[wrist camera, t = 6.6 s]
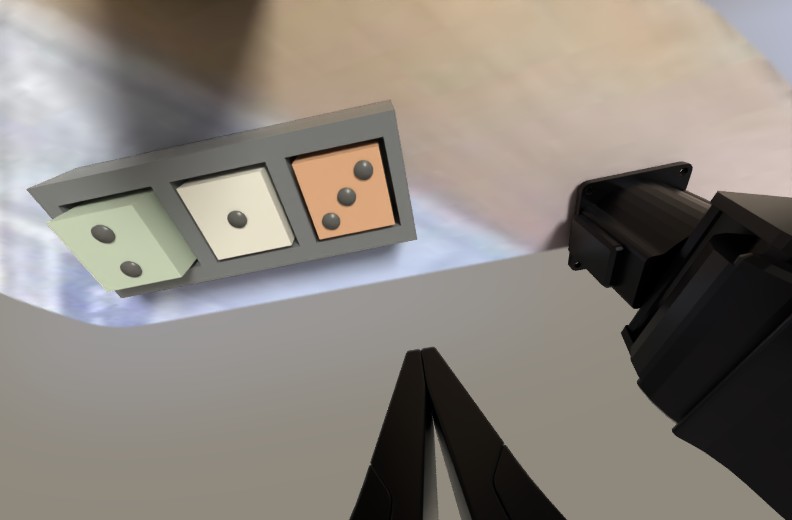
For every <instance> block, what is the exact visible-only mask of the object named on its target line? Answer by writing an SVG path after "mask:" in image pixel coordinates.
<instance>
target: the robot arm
mask: <svg viewBox="0 0 792 520" xmlns="http://www.w3.org/2000/svg"><path fill="white" fill-rule="evenodd" d="M692 168H693V167H692V165H691V164H689V163H686V162H676V163H672V164H667V165H662V166H657V167H652V168H647V169H642V170H637V171H632V172H627V173H622V174H617V175H612V176H607V177H602V178H597V179H592V180H587V181H585V182H583V183H582V184H581V185H580V186H579V188H578V194H577V201H576V208H575V216H574V217H573V219H572V225H571V233H570V240H569V248H568V250H569V252H570V253H569V260H568V265H569V266H570V267H571V269H572V270H575V271H576V270H583V269H587V270H588V271H589V272H590V273H591V274H592V275H593V276H594V277H595V278H596V279H597V280H598V281H599V283H600V284H601V285H603V286H604V287H606V288H609V287H612V288H613V289H614V290H615V291H616V292H617V293H618V294H619V295H620V296H621V297H622V298H623V299H624V300H625V301H626V302H627V303H628V304H629V305H630V306H631V307H632V308H634V309H638V308H640V309H639V311H638V312H637V313H636V315H635V316H634V318H633V319H632V321H631V322H630V324H629V325H626V326H625V327H624V329H623V331H622V332H621V334H622V337H623V339H624V341H625V344H626V346H627V348H628V351H629V353H630V356H631V362H632V364H633V366H634V368H635V370H636V372H637V374H638V376H639V379H638V380H637V384H638V386H639V388H640V389H641V390H642V392H643V393H644V394H645V395H646V396H647V397H648V399H649V400H650V401H651V402H652V403H653V404H654V405H655V406H656V407H657V408H658V409H659V410H661V411H662V412H663V413H664V414H665V415H666V416H667V417H668V418H670V419H671V420H672V421H674V422H675V423H676V425H675V426H674V427H673V428H672V432H673V433H674V434H675V435H676V436H677V437H679V438H681V439H682V440H684V441H686V442H688V443H690V444H692V445H693V446H695V447H697V448H699V449H700V450H702V451H704V452H706V453H707V454H708V455H709V456H711V457H712V458H714V459H715V460H716V461H718V462H719V463H721V464H722V465H724V466H725V467H726V468H728V469H729V470H730V471H731V472H733V473H734V474H735V475H736V476H737V477H738V478H740V479H741V480H742V481H743V482H744V483H746V484H747V485H748V486H749V487H750V488H751V489H752V490H753V491H754V492H755V493H757V494H758V495H759V496H760V497H761V498H762V499H763V500H764V501H765V502H766V503H767V504H768V505H770V506H771V507H772V508H773V509H774V510H775V511H776V512H777V513H778V514H779V515H781V516H782V517H783V518H784V519H785V520H792V198H789V197H778V196H768V195H757V194H746V193H735V192H725V191H717V193H716V194H715V196H714V197H713V199H712V200H711V202H710V201H708V200H706V199H704V198H702V197H700V196H697V195H695V194H693V193H691V192H689V191H686V188H687V185H688V182H689V179H690V176H691V173H692ZM681 170H682V171H681ZM680 171H681V172H680ZM679 172H680V173H679ZM589 187H591V188H590V190H589V191H587V192H586V189H587V188H589ZM577 262H578V263H577ZM576 263H577V264H576ZM432 416H433V417H432ZM433 421H434V425H435V429H436V433H437V437H438V440H439V443H440V447H441V450H442V453H443V457H444V461H445V464H446V467H447V471H448V474H449V478H450V482H451V485H452V488H453V492H454V495H455V499H456V502H457V506H458V509H459V513H460V516H461V519H462V520H566V518H565V517H564V516H563V515H562V514H561V513H560V512H559V511H558V509H557V508H556V507H555V506H554V505H553V504H552V503H551V502H550V501H549V499H548V498H547V497H546V496H545V495H544V493H543V492H542V491H541V490H540V489H539V487H538V486H537V485H536V484H535V483H534V482H533V480H532V479H531V478H530V477H529V475H528V474H527V473H526V471H525V470H524V469H523V468H522V466H521V465H520V464H519V463H518V461H517V460H516V458H515V457H514V456H513V454H512V453H511V451H510V450H509V449H508V447H507V446H506V445H504V442H503V441H502V439H501V438H500V437H499V435H498V434H497V432H496V431H495V430H494V428H493V427H492V425H491V424H490V423H489V421H488V420H487V419H486V417H485V416H484V414H483V413H482V412H481V410H480V409H479V407H478V406H477V405H476V403H475V402H474V400H473V399H472V398H471V397H470V395H469V394H468V392H467V391H466V389H465V388H464V387H463V385H462V384H461V383H460V381H459V380H458V378H457V377H456V376H455V374H454V373H453V372H452V370H451V369H450V367H449V366H448V365H447V363H446V362H445V360H444V359H443V357H442V356H441V355H440V353H439V352H438V351H437V349H436V348H435V347H429V348H423V349H422V350H419V349H416V350H410V351H407V353H406V356H405V359H404V361H403V364H402V368H401V370H400V374H399V377H398V380H397V383H396V386H395V389H394V392H393V395H392V398H391V401H390V404H389V407H388V410H387V413H386V416H385V419H384V423H383V425H382V428H381V432H380V435H379V438H378V441H377V444H376V447H375V450H374V453H373V456H372V459H371V465H370V466H369V468H368V471H367V474H366V477H365V480H364V483H363V486H362V488H361V491H360V494H359V497H358V499H357V502H356V505H355V507H354V510H353V512H352V514H351V517H350V519H349V520H438V500H437V481H436V460H435V441H434V425H433Z"/></svg>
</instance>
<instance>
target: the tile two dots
mask: <svg viewBox="0 0 792 520" xmlns="http://www.w3.org/2000/svg"><path fill="white" fill-rule="evenodd" d="M46 224H47V225H48V226H49V227H50V228H51V230H52V231H53V232H54V233H55V234H56V235H57V236H58V237H59V239H60V240H61V241H62V242H63V243H64V244H65V245H66V246H67V248H68V249H69V250H70V251H71V252H72V253H73V254H74V255H75V257H76V258H77V259H78V260H79V261H80V262H81V263H82V264H83V266H84V267H85V268H86V269H87V270H88V271H89V272H90V273H91V275H92V276H93V277H94V278H95V279H96V280H97V281H98V282H99V284H100V285H101V286H102V287H103V288H104V289H105V290H106V291H107V292H110V291H115V290H120V289H125V288H130V287H135V286H140V285H145V284H150V283H155V282H160V281H165V280H170V279H175V278H180V277H182V276H183V275H184V274H185V273H186V271H187V270H188V269H189V268H190V266H191V265H192V264H193V263H194V261H195V260H196V259H197V258H196V256H195V255H194V253H193V252H192V250H191V248H190V247H189V245H188V244H187V242H186V241H185V239H184V237H183V236H182V234H181V233H180V231H179V230H178V228H177V227H176V225H175V223H174V222H173V220H172V219H171V217H170V216H169V214H168V213H167V211H166V209H165V208H164V206H163V205H162V203H161V202H160V200H159V198H158V197H157V195H156V194H155V192H154V191H153V189H152V188H151V187H147V188H143V189H138V190H133V191H129V192H124V193H119V194H115V195H110V196H105V197H101V198H96V199H91V200H87V201H85V202H83V203H81V204H79V205H77V206H76V207H74V208H72V209H70V210H68V211H67V212H65V213H63V214H61V215H59V216H58V217H56V218H54V219H52V220H50V221H49V222H47V223H46Z"/></svg>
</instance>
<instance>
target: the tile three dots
mask: <svg viewBox="0 0 792 520" xmlns="http://www.w3.org/2000/svg"><path fill="white" fill-rule="evenodd" d="M292 166H293V169H294V171H295V174H296V177H297V180H298V182H299V185H300V188H301V190H302V193H303V196H304V198H305V201H306V204H307V207H308V209H309V212H310V215H311V217H312V220H313V223H314V226H315V228H316V231H317V234H318V236H319V239H325V238H329V237H334V236H339V235H344V234H349V233H354V232H359V231H364V230H369V229H374V228H379V227H384V226H389V225H394V224H395V221H394V215H393V208H392V202H391V197H390V193H389V188H388V183H387V178H386V174H385V169H384V164H383V159H382V155H381V150H380V145H379V140H378V138H375V139H370V140H365V141H361V142H356V143H351V144H346V145H342V146H337V147H332V148H328V149H323V150H318V151H314V152H309V153H304V154H300V155H298V156H297V157H296V159H295V161H294V162H293V164H292Z"/></svg>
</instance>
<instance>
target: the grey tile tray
mask: <svg viewBox="0 0 792 520" xmlns="http://www.w3.org/2000/svg"><path fill="white" fill-rule="evenodd" d="M375 138H378V140H379V145H380V150H381V155H382V159H383V164H384V169H385V174H386V178H387V183H388V188H389V193H390V197H391V202H392V208H393V215H394V221H395V224H394V225H389V226H384V227H379V228H374V229H369V230H364V231H359V232H354V233H349V234H344V235H339V236H334V237H329V238H325V239H319V236H318V234H317V231H316V228H315V226H314V223H313V220H312V217H311V215H310V212H309V209H308V207H307V204H306V201H305V198H304V196H303V193H302V190H301V188H300V185H299V182H298V180H297V177H296V174H295V171H294V169H293V166H292V164H293V162H294V161H295V159H296V157H297V156H298V155H300V154H304V153H309V152H314V151H318V150H323V149H328V148H332V147H337V146H342V145H346V144H351V143H356V142H361V141H365V140H370V139H375ZM262 162H265V163H266V165H267V167H268V170H269V172H270V175H271V177H272V179H273V182H274V184H275V187H276V189H277V192H278V194H279V196H280V199H281V201H282V204H283V206H284V208H285V211H286V213H287V216H288V218H289V220H290V223H291V225H292V228H293V230H294V233H295V238H294V241H293V243H292V245H290V246H285V247H280V248H275V249H270V250H265V251H260V252H255V253H250V254H245V255H240V256H235V257H230V258H225V259H220V260H218V258H217V257H216V255H215V253H214V252H213V250H212V248H211V247H210V245H209V243H208V242H207V240H206V238H205V237H204V235H203V233H202V231H201V230H200V228H199V226H198V225H197V223H196V221H195V220H194V218H193V216H192V215H191V213H190V211H189V210H188V208H187V206H186V205H185V203H184V201H183V200H182V198H181V196H180V195H179V193H178V191H177V190H176V189H177V188H178V187H180V186H181V185H182V184H184V183H185V182H186V181H188V180H189V179H190V178H192V177H196V176H201V175H206V174H210V173H215V172H220V171H225V170H229V169H234V168H239V167H243V166H248V165H253V164H257V163H262ZM147 187H151V188H152V189H153V191H154V192H155V194H156V195H157V197H158V198H159V200H160V202H161V203H162V205H163V206H164V208H165V209H166V211H167V213H168V214H169V216H170V217H171V219H172V220H173V222H174V223H175V225H176V227H177V228H178V230H179V231H180V233H181V234H182V236H183V237H184V239H185V241H186V242H187V244H188V245H189V247H190V248H191V250H192V252H193V253H194V255H195V256H196V258H197V259H196V260H195V261H194V263H193V264H192V265H191V266H190V268H189V269H188V270H187V271H186V273H185V274H184V275H183V276H182V277H180V278H175V279H170V280H165V281H160V282H155V283H150V284H145V285H140V286H135V287H130V288H125V289H120V290H115V292H116V293H117V294H118V295H119V296H120V297H121V298H125V297H130V296H135V295H140V294H145V293H150V292H155V291H160V290H165V289H170V288H175V287H180V286H185V285H190V284H195V283H200V282H205V281H211V280H216V279H221V278H226V277H231V276H236V275H241V274H246V273H251V272H256V271H261V270H266V269H271V268H276V267H281V266H286V265H291V264H296V263H301V262H306V261H311V260H316V259H321V258H326V257H331V256H336V255H341V254H346V253H351V252H356V251H362V250H367V249H372V248H377V247H382V246H387V245H392V244H397V243H402V242H407V241H412V240H417V236H416V230H415V224H414V218H413V213H412V207H411V201H410V195H409V190H408V184H407V178H406V172H405V167H404V161H403V155H402V149H401V144H400V138H399V132H398V127H397V121H396V115H395V109H394V107H393V105H392V102H391V100H387V101H382V102H378V103H373V104H369V105H364V106H359V107H355V108H350V109H346V110H341V111H336V112H332V113H327V114H323V115H318V116H313V117H309V118H304V119H300V120H295V121H291V122H286V123H281V124H277V125H272V126H268V127H263V128H258V129H254V130H249V131H245V132H240V133H235V134H231V135H226V136H222V137H217V138H213V139H208V140H203V141H199V142H194V143H190V144H185V145H180V146H176V147H171V148H167V149H162V150H157V151H153V152H148V153H144V154H139V155H135V156H130V157H125V158H121V159H116V160H112V161H107V162H102V163H98V164H93V165H89V166H84V167H79V168H75V169H73V170H71V171H68V172H66V173H63V174H61V175H59V176H56V177H54V178H52V179H49V180H47V181H45V182H42V183H40V184H37V185H35V186H33V187H30V188H28V189H27V191H28V192H29V193H30V194H31V195H32V196H33V197H34V199H35V200H36V201H37V202H38V203H39V204H40V206H41V207H42V208H43V209H44V210H45V211H46V212H47V214H48V215H49V216H50V217H51V218H52V219H54V218H56V217H58V216H59V215H61V214H63V213H65V212H67V211H68V210H70V209H72V208H74V207H76V206H77V205H79V204H81V203H83V202H85V201H87V200H91V199H96V198H101V197H105V196H110V195H115V194H119V193H124V192H129V191H133V190H138V189H143V188H147Z"/></svg>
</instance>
